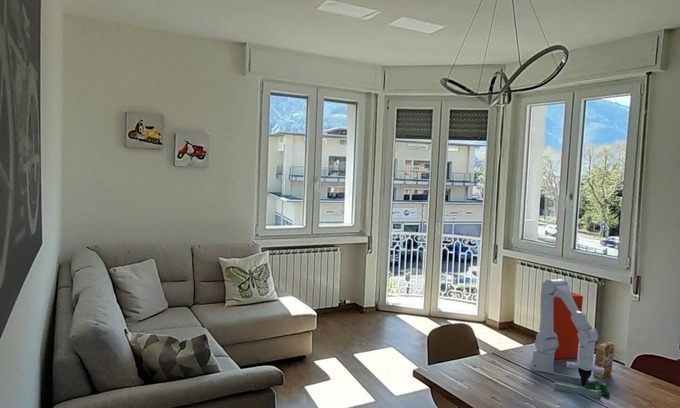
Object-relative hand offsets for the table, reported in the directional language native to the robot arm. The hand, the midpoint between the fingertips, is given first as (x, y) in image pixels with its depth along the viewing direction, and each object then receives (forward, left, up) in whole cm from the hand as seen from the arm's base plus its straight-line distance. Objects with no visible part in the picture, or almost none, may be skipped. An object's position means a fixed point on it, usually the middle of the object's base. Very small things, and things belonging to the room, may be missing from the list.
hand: (583, 385), depth 211 cm
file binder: (-9, +36, -2) cm, 37 cm away
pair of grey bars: (-3, 0, -1) cm, 3 cm away
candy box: (+9, +21, -2) cm, 23 cm away
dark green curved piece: (+5, -2, -2) cm, 6 cm away
